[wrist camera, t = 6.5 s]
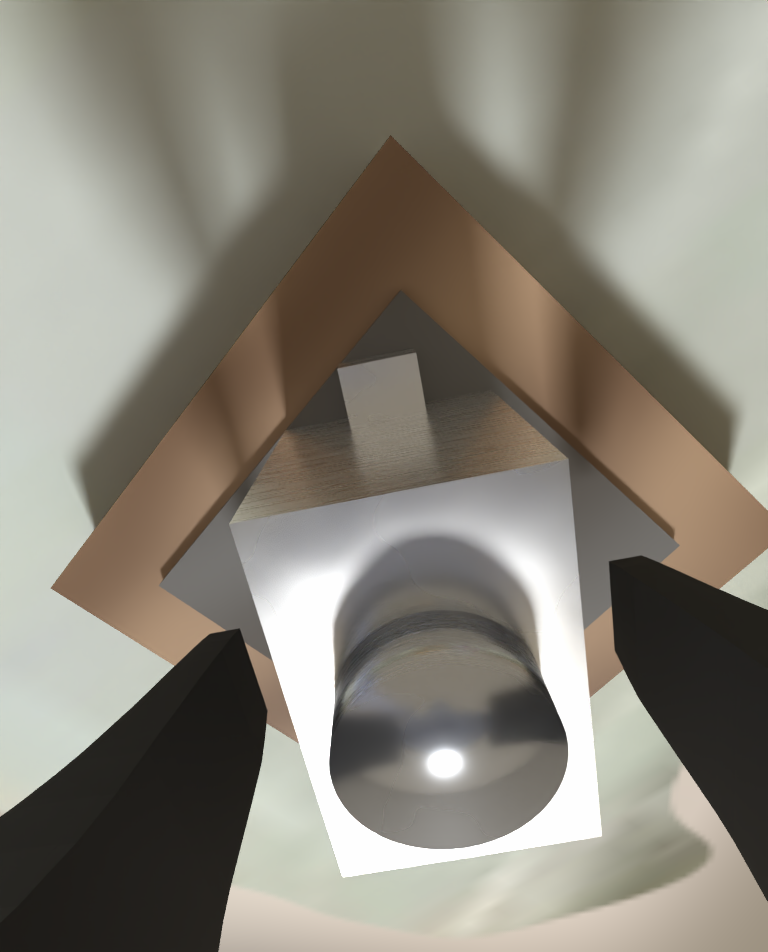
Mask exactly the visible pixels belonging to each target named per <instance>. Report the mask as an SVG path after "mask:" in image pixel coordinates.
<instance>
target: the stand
mask: <svg viewBox="0 0 768 952" xmlns="http://www.w3.org/2000/svg"><path fill="white" fill-rule="evenodd" d="M411 348H414V350H415V352H416V355H417V360H418V366H419V372H420V378H421V383H422V389H423V395H424V400H425V402H430V401H435V400H441V399H446V398H451V397H456V396H461V395H466V394H471V393H476V392H481V391H486V390H492V391H493V392H494V393H495V394H496V395H498V396H499V397H500V398H501V399H502V400H503V401H504V402H505V403H506V404H508V405H509V406H510V407H511V408H512V409H513V410H514V411H515V412H517V413H518V414H519V415H520V416H521V417H522V418H523V419H524V420H525V421H527V422H528V423H529V424H530V425H531V426H532V427H533V428H534V429H536V430H537V431H538V432H539V433H540V434H541V435H542V436H543V437H545V438H546V439H547V440H548V441H549V442H550V443H551V444H552V445H553V446H555V447H556V448H557V449H558V450H559V451H560V452H561V453H562V454H564V455H565V456H566V457H567V458H568V459H569V470H570V482H571V493H572V504H573V516H574V527H575V538H576V549H577V561H578V572H579V583H580V595H581V606H582V617H583V628H584V640H585V651H586V662H587V674H588V685H589V696H590V697H591V696H592V695H593V694H595V693H596V692H597V691H598V690H599V689H601V688H602V687H603V686H604V685H605V684H607V683H608V682H609V681H610V680H611V679H613V678H614V677H615V676H616V675H617V674H618V673H620V672H621V671H622V670H623V669H624V668H623V666H622V664H621V662H620V660H619V658H618V656H617V654H616V652H615V648H614V634H613V619H612V604H611V589H610V574H609V561H613V560H618V559H624V558H629V557H635V556H640V555H642V556H644V557H647V558H650V559H652V560H655V561H657V562H659V563H662V564H664V565H666V566H669V567H671V568H673V569H675V570H677V571H680V572H682V573H684V574H686V575H689V576H691V577H693V578H695V579H697V580H700V581H702V582H704V583H706V584H708V585H711V586H713V587H715V588H717V589H720V588H721V587H722V586H723V585H725V584H726V583H727V582H728V581H729V580H731V579H732V578H733V577H734V576H735V575H736V574H738V573H739V572H740V571H741V570H742V569H744V568H745V567H746V566H747V565H748V564H750V563H751V562H752V561H753V560H754V559H756V558H757V557H758V556H759V555H760V554H762V553H763V552H764V551H765V550H766V549H767V548H768V511H767V510H766V509H765V508H764V507H763V506H762V505H761V504H760V503H759V502H758V501H757V500H756V499H755V498H754V497H753V496H752V495H751V494H750V493H749V492H748V491H747V490H746V489H745V488H744V487H743V486H742V485H741V484H740V483H739V482H738V481H737V480H736V479H735V478H734V477H733V476H732V475H731V474H730V473H729V472H728V471H727V470H726V469H725V468H724V467H723V466H722V465H721V464H720V463H719V462H718V461H717V460H716V459H715V458H714V457H713V456H712V455H711V454H710V453H709V452H708V451H707V450H706V449H705V448H704V447H703V446H702V445H701V444H700V443H699V442H698V441H697V440H696V439H695V438H694V437H693V436H692V435H691V434H690V433H689V432H688V431H687V430H686V429H685V428H684V427H683V426H682V425H681V424H680V423H679V422H678V421H677V420H676V419H675V418H674V417H673V416H672V415H671V414H670V413H669V412H668V411H667V410H666V409H665V408H664V407H663V406H662V405H661V404H660V403H659V402H658V401H657V400H656V399H655V398H654V397H653V396H652V395H651V394H650V393H649V392H648V391H647V390H646V389H645V388H644V387H643V386H642V385H641V384H640V383H639V382H638V381H637V380H636V379H635V378H634V377H633V376H632V375H631V374H630V373H629V372H628V371H627V370H626V369H625V368H624V367H623V366H622V365H621V364H620V363H619V362H618V361H617V360H616V359H615V358H614V357H613V356H612V355H611V354H610V353H609V352H608V351H607V350H606V349H605V348H604V347H603V346H602V345H601V344H600V343H599V342H598V341H597V340H596V339H595V338H594V337H593V336H592V335H591V334H590V333H589V332H588V331H587V330H586V329H585V328H584V327H583V326H582V325H581V324H580V323H579V322H578V321H577V320H576V319H575V318H574V317H573V316H572V315H571V314H570V313H569V312H568V311H566V310H565V309H564V308H563V307H562V306H561V305H560V304H559V303H558V302H557V301H556V300H555V299H554V298H553V297H552V296H551V295H550V294H549V293H548V292H547V291H546V290H545V289H544V288H543V287H542V286H541V285H540V284H539V283H538V282H537V281H536V280H535V279H534V278H533V277H532V276H531V275H530V274H529V273H528V272H527V271H526V270H525V269H524V268H523V267H522V266H521V265H520V264H519V263H518V262H517V261H516V260H515V259H514V258H513V257H512V256H511V255H510V254H509V253H508V252H507V251H506V250H505V249H504V248H503V247H502V246H501V245H500V244H499V243H498V242H497V241H496V240H495V239H494V238H493V237H492V236H491V235H490V234H489V233H488V232H487V231H486V230H485V229H484V228H483V227H482V226H481V225H480V224H479V223H478V222H477V221H476V220H475V219H474V218H473V217H472V216H471V215H470V214H469V213H468V212H467V211H466V210H465V209H464V208H463V207H462V206H461V205H460V204H459V203H458V202H457V201H456V200H455V199H454V198H453V197H452V196H451V195H450V194H449V193H448V192H447V191H446V190H445V189H444V188H443V187H442V186H441V185H440V184H439V183H438V182H437V181H436V180H435V179H434V178H433V177H432V176H431V175H430V174H429V173H428V172H427V171H426V170H425V169H424V168H423V167H422V166H421V165H420V164H419V163H418V162H417V161H416V160H415V159H414V158H413V157H412V156H411V155H410V154H409V153H408V152H407V151H406V150H405V149H404V148H403V147H402V146H401V145H400V144H399V143H398V142H397V141H396V140H395V139H394V138H393V137H392V136H391V135H390V137H389V138H388V139H387V141H386V142H385V143H384V145H383V146H382V147H381V149H380V150H379V151H378V153H377V154H376V155H375V157H374V158H373V159H372V161H371V162H370V163H369V165H368V166H367V167H366V169H365V170H364V171H363V173H362V174H361V175H360V177H359V178H358V179H357V181H356V182H355V183H354V185H353V186H352V187H351V189H350V190H349V191H348V193H347V194H346V195H345V197H344V198H343V199H342V201H341V202H340V203H339V205H338V206H337V207H336V209H335V210H334V211H333V213H332V214H331V215H330V217H329V218H328V219H327V221H326V222H325V223H324V225H323V226H322V227H321V229H320V230H319V231H318V233H317V234H316V235H315V237H314V238H313V239H312V241H311V242H310V243H309V245H308V246H307V247H306V249H305V250H304V251H303V253H302V254H301V255H300V257H299V258H298V259H297V261H296V262H295V263H294V265H293V266H292V267H291V269H290V270H289V271H288V273H287V274H286V275H285V277H284V278H283V279H282V281H281V282H280V283H279V285H278V286H277V287H276V289H275V290H274V291H273V293H272V294H271V295H270V297H269V298H268V299H267V301H266V302H265V303H264V305H263V306H262V307H261V309H260V310H259V311H258V313H257V314H256V315H255V317H254V318H253V319H252V321H251V322H250V323H249V325H248V326H247V327H246V329H245V330H244V331H243V333H242V334H241V335H240V337H239V338H238V339H237V341H236V342H235V343H234V345H233V346H232V347H231V349H230V350H229V351H228V353H227V354H226V355H225V357H224V358H223V359H222V361H221V362H220V363H219V365H218V366H217V367H216V369H215V370H214V371H213V373H212V374H211V375H210V377H209V378H208V379H207V381H206V382H205V383H204V385H203V386H202V387H201V389H200V390H199V391H198V393H197V394H196V395H195V397H194V398H193V399H192V401H191V402H190V403H189V405H188V406H187V407H186V409H185V410H184V411H183V413H182V414H181V415H180V417H179V418H178V419H177V421H176V422H175V423H174V424H173V426H172V427H171V428H170V430H169V431H168V432H167V434H166V435H165V436H164V438H163V439H162V440H161V442H160V443H159V444H158V446H157V447H156V448H155V450H154V451H153V452H152V454H151V455H150V456H149V458H148V459H147V460H146V462H145V463H144V464H143V466H142V467H141V468H140V470H139V471H138V472H137V474H136V475H135V476H134V478H133V479H132V480H131V482H130V483H129V484H128V486H127V487H126V488H125V490H124V491H123V492H122V494H121V495H120V496H119V498H118V499H117V500H116V502H115V503H114V504H113V506H112V507H111V508H110V510H109V511H108V512H107V514H106V515H105V516H104V518H103V519H102V520H101V522H100V523H99V524H98V526H97V527H96V528H95V530H94V531H93V532H92V534H91V535H90V536H89V538H88V539H87V540H86V542H85V543H84V544H83V546H82V547H81V548H80V550H79V551H78V552H77V554H76V555H75V556H74V558H73V559H72V560H71V562H70V563H69V564H68V566H67V567H66V568H65V570H64V571H63V572H62V574H61V575H60V576H59V578H58V579H57V580H56V582H55V583H54V584H53V586H52V587H51V589H53V590H54V591H56V592H58V593H59V594H61V595H62V596H64V597H66V598H67V599H69V600H70V601H72V602H74V603H75V604H77V605H78V606H80V607H82V608H83V609H85V610H86V611H88V612H90V613H91V614H93V615H94V616H96V617H98V618H99V619H101V620H102V621H104V622H106V623H107V624H109V625H110V626H112V627H114V628H115V629H117V630H118V631H120V632H122V633H123V634H125V635H126V636H128V637H130V638H131V639H133V640H134V641H136V642H138V643H139V644H141V645H142V646H144V647H146V648H147V649H149V650H150V651H152V652H154V653H155V654H157V655H158V656H160V657H162V658H163V659H165V660H166V661H168V662H170V663H171V664H173V665H174V666H175V665H176V664H177V663H178V662H179V661H180V660H181V659H182V658H184V657H185V656H186V655H187V654H188V653H189V652H190V651H191V650H192V649H193V648H194V647H195V646H196V645H197V644H198V643H199V642H201V641H202V640H203V639H204V638H205V637H206V636H208V635H209V634H211V633H216V632H222V631H227V630H233V629H238V628H240V630H241V633H242V636H243V639H244V642H245V645H246V648H247V651H248V654H249V657H250V660H251V663H252V666H253V669H254V672H255V675H256V678H257V681H258V684H259V686H260V689H261V692H262V695H263V698H264V701H265V704H266V707H267V710H268V712H267V722H266V723H267V724H269V725H270V726H272V727H274V728H275V729H277V730H278V731H280V732H282V733H283V734H285V735H286V736H288V737H290V738H291V739H293V740H294V741H296V742H298V743H299V740H298V737H297V734H296V731H295V728H294V724H293V721H292V718H291V715H290V712H289V709H288V706H287V703H286V700H285V696H284V693H283V690H282V687H281V684H280V681H279V678H278V675H277V672H276V668H275V665H274V662H273V659H272V656H271V653H270V650H269V647H268V644H267V640H266V637H265V634H264V631H263V628H262V625H261V622H260V619H259V616H258V613H257V609H256V606H255V603H254V600H253V597H252V594H251V591H250V588H249V585H248V581H247V578H246V575H245V572H244V569H243V566H242V563H241V560H240V557H239V553H238V550H237V547H236V544H235V541H234V538H233V535H232V532H231V529H230V525H229V523H230V521H231V520H232V518H233V516H234V515H235V513H236V511H237V510H238V508H239V506H240V505H241V503H242V502H243V500H244V498H245V497H246V495H247V493H248V492H249V490H250V488H251V487H252V485H253V483H254V482H255V480H256V478H257V477H258V475H259V473H260V472H261V470H262V468H263V467H264V465H265V463H266V462H267V460H268V458H269V457H270V455H271V453H272V452H273V450H274V448H275V447H276V445H277V443H278V442H279V440H280V438H281V437H282V435H283V433H284V432H285V430H290V429H295V428H300V427H305V426H310V425H315V424H320V423H325V422H330V421H335V420H340V419H345V418H348V415H347V410H346V406H345V401H344V397H343V392H342V388H341V383H340V379H339V375H338V370H337V368H338V366H339V363H343V362H348V361H353V360H357V359H362V358H367V357H372V356H377V355H382V354H387V353H392V352H397V351H402V350H407V349H411ZM299 744H300V743H299Z"/></svg>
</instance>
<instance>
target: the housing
mask: <svg viewBox="0 0 768 952" xmlns="http://www.w3.org/2000/svg"><path fill="white" fill-rule="evenodd" d="M337 370H338V375H339V379H340V383H341V388H342V392H343V397H344V401H345V406H346V410H347V415H348V418H345V419H340V420H335V421H330V422H325V423H320V424H315V425H310V426H305V427H300V428H295V429H290V430H285V432H284V433H283V435H282V437H281V438H280V440H279V442H278V443H277V445H276V447H275V448H274V450H273V452H272V453H271V455H270V457H269V458H268V460H267V462H266V463H265V465H264V467H263V468H262V470H261V472H260V473H259V475H258V477H257V478H256V480H255V482H254V483H253V485H252V487H251V488H250V490H249V492H248V493H247V495H246V497H245V498H244V500H243V502H242V503H241V505H240V506H239V508H238V510H237V511H236V513H235V515H234V516H233V518H232V520H231V521H230V523H229V525H230V529H231V532H232V535H233V538H234V541H235V544H236V547H237V550H238V553H239V557H240V560H241V563H242V566H243V569H244V572H245V575H246V578H247V581H248V585H249V588H250V591H251V594H252V597H253V600H254V603H255V606H256V609H257V613H258V616H259V619H260V622H261V625H262V628H263V631H264V634H265V637H266V640H267V644H268V647H269V650H270V653H271V656H272V659H273V662H274V665H275V668H276V672H277V675H278V678H279V681H280V684H281V687H282V690H283V693H284V696H285V700H286V703H287V706H288V709H289V712H290V715H291V718H292V721H293V724H294V728H295V731H296V734H297V737H298V740H299V743H300V746H301V749H302V752H303V756H304V759H305V762H306V765H307V768H308V771H309V774H310V777H311V780H312V783H313V787H314V790H315V793H316V796H317V799H318V802H319V805H320V808H321V811H322V815H323V818H324V821H325V824H326V827H327V830H328V833H329V836H330V839H331V843H332V846H333V849H334V852H335V855H336V858H337V861H338V864H339V867H340V871H341V874H342V877H347V876H353V875H360V874H366V873H372V872H379V871H385V870H391V869H398V868H404V867H410V866H417V865H423V864H429V863H436V862H442V861H448V860H455V859H461V858H467V857H474V856H480V855H486V854H493V853H499V852H505V851H512V850H518V849H524V848H531V847H537V846H543V845H550V844H556V843H562V842H569V841H575V840H581V839H588V838H594V837H600V836H602V831H601V820H600V809H599V798H598V786H597V775H596V764H595V752H594V741H593V730H592V719H591V707H590V696H589V685H588V674H587V662H586V651H585V640H584V628H583V617H582V606H581V595H580V583H579V572H578V561H577V549H576V538H575V527H574V516H573V504H572V493H571V482H570V470H569V459H568V458H567V457H566V456H565V455H564V454H562V453H561V452H560V451H559V450H558V449H557V448H556V447H555V446H553V445H552V444H551V443H550V442H549V441H548V440H547V439H546V438H545V437H543V436H542V435H541V434H540V433H539V432H538V431H537V430H536V429H534V428H533V427H532V426H531V425H530V424H529V423H528V422H527V421H525V420H524V419H523V418H522V417H521V416H520V415H519V414H518V413H517V412H515V411H514V410H513V409H512V408H511V407H510V406H509V405H508V404H506V403H505V402H504V401H503V400H502V399H501V398H500V397H499V396H498V395H496V394H495V393H494V392H493V391H492V390H486V391H481V392H476V393H471V394H466V395H461V396H456V397H451V398H446V399H441V400H435V401H430V402H425V400H424V395H423V389H422V383H421V378H420V372H419V366H418V360H417V355H416V352H415V350H414V348H411V349H407V350H402V351H397V352H392V353H387V354H382V355H377V356H372V357H367V358H362V359H357V360H353V361H348V362H343V363H339V366H338V368H337Z"/></svg>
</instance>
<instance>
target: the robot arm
mask: <svg viewBox="0 0 768 952" xmlns="http://www.w3.org/2000/svg"><path fill="white" fill-rule="evenodd" d="M609 574H610V589H611V604H612V619H613V634H614V648H615V652H616V654H617V656H618V658H619V660H620V662H621V664H622V666H623V668H624V670H625V672H626V675H627V677H628V678H629V680H630V682H631V684H632V686H633V688H634V690H635V692H636V694H637V696H638V698H639V699H640V701H641V702H642V704H643V705H644V707H645V708H646V710H647V711H648V713H649V714H650V716H651V717H652V719H653V720H654V722H655V723H656V725H657V726H658V728H659V729H660V731H661V732H662V734H663V735H664V737H665V738H666V740H667V741H668V743H669V744H670V746H671V747H672V749H673V750H674V751H675V753H676V754H677V756H678V757H679V759H680V760H681V762H682V763H683V765H684V766H685V768H686V769H687V770H688V772H689V773H690V775H691V776H692V778H693V779H694V781H695V782H696V784H697V785H698V787H699V788H700V790H701V791H702V793H703V794H704V796H705V797H706V798H707V800H708V801H709V803H710V804H711V806H712V807H713V809H714V810H715V812H716V813H717V815H718V816H719V818H720V820H721V821H722V823H723V824H724V826H725V827H726V829H727V831H728V832H729V834H730V836H731V837H732V839H733V840H734V842H735V844H736V846H737V848H738V849H739V851H740V853H741V855H742V856H743V858H744V860H745V862H746V864H747V865H748V867H749V869H750V871H751V872H752V874H753V876H754V878H755V880H756V882H757V883H758V885H759V887H760V889H761V890H762V892H763V894H764V896H765V898H766V900H767V901H768V610H766V609H764V608H761V607H759V606H757V605H754V604H752V603H749V602H747V601H745V600H742V599H740V598H738V597H735V596H733V595H731V594H729V593H726V592H724V591H722V590H720V589H717V588H715V587H713V586H711V585H708V584H706V583H704V582H702V581H700V580H697V579H695V578H693V577H691V576H689V575H686V574H684V573H682V572H680V571H677V570H675V569H673V568H671V567H669V566H666V565H664V564H662V563H659V562H657V561H655V560H652V559H650V558H647V557H644V556H642V555H640V556H635V557H629V558H624V559H618V560H613V561H609ZM267 712H268V710H267V707H266V704H265V701H264V698H263V695H262V692H261V689H260V686H259V684H258V681H257V678H256V675H255V672H254V669H253V666H252V663H251V660H250V657H249V654H248V651H247V648H246V645H245V642H244V639H243V636H242V633H241V630H240V628H238V629H233V630H227V631H222V632H216V633H211V634H209V635H208V636H206V637H205V638H204V639H203V640H202V641H201V642H199V643H198V644H197V645H196V646H195V647H194V648H193V649H192V650H191V651H190V652H189V653H188V654H187V655H186V656H185V657H184V658H182V659H181V660H180V661H179V662H178V663H177V664H176V665H175V666H174V667H173V668H172V669H171V670H170V671H169V672H168V673H167V674H166V675H165V676H164V677H163V678H162V679H161V680H160V681H159V682H158V683H157V684H156V685H155V686H154V687H153V688H152V689H151V690H150V691H149V692H148V693H147V694H146V695H145V696H143V697H142V698H141V699H140V700H139V701H138V702H137V703H136V704H135V705H134V706H133V707H132V708H131V709H130V710H129V711H128V712H127V713H125V714H124V715H123V716H122V717H121V718H120V719H119V720H118V721H117V722H116V723H114V724H113V725H112V726H111V727H110V728H109V729H108V730H107V731H106V732H104V733H103V734H102V735H101V736H100V737H99V738H98V739H97V740H96V741H94V742H93V743H92V744H91V745H90V746H89V747H88V748H87V749H86V750H85V751H83V752H82V753H81V754H80V755H79V756H77V757H76V758H75V759H74V760H73V761H72V762H70V763H69V764H68V765H67V766H65V767H64V768H63V769H62V770H61V771H59V772H58V773H57V774H56V775H55V776H53V777H52V778H51V779H49V780H48V781H47V782H46V783H44V784H43V785H42V786H40V787H39V788H38V789H37V790H35V791H34V792H33V793H32V794H30V795H29V796H28V797H26V798H25V799H24V800H23V801H21V802H20V803H19V804H17V805H16V806H15V807H13V808H12V809H11V810H9V811H8V812H6V813H5V814H3V815H2V816H1V817H0V952H218V950H219V943H220V938H221V931H222V925H223V919H224V914H225V910H226V905H227V900H228V895H229V891H230V887H231V883H232V879H233V875H234V871H235V867H236V863H237V859H238V855H239V851H240V847H241V843H242V840H243V836H244V832H245V828H246V824H247V820H248V816H249V812H250V808H251V804H252V800H253V796H254V792H255V788H256V784H257V780H258V775H259V771H260V767H261V763H262V756H263V748H264V741H265V731H266V722H267Z"/></svg>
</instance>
